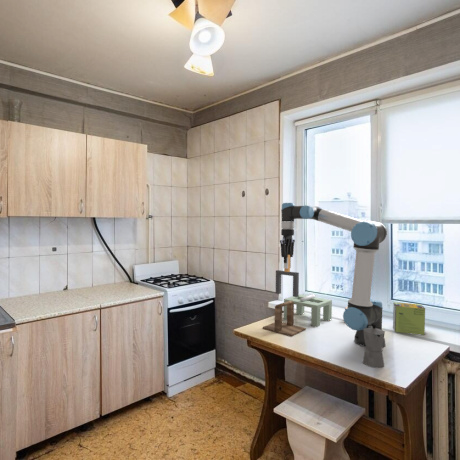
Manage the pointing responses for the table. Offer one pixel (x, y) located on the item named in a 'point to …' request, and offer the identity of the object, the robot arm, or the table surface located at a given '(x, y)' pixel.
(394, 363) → the table surface
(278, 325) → the walnut rack
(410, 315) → the protein box
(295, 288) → the dark grey arch
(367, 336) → the coffeepot
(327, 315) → the pale green table
